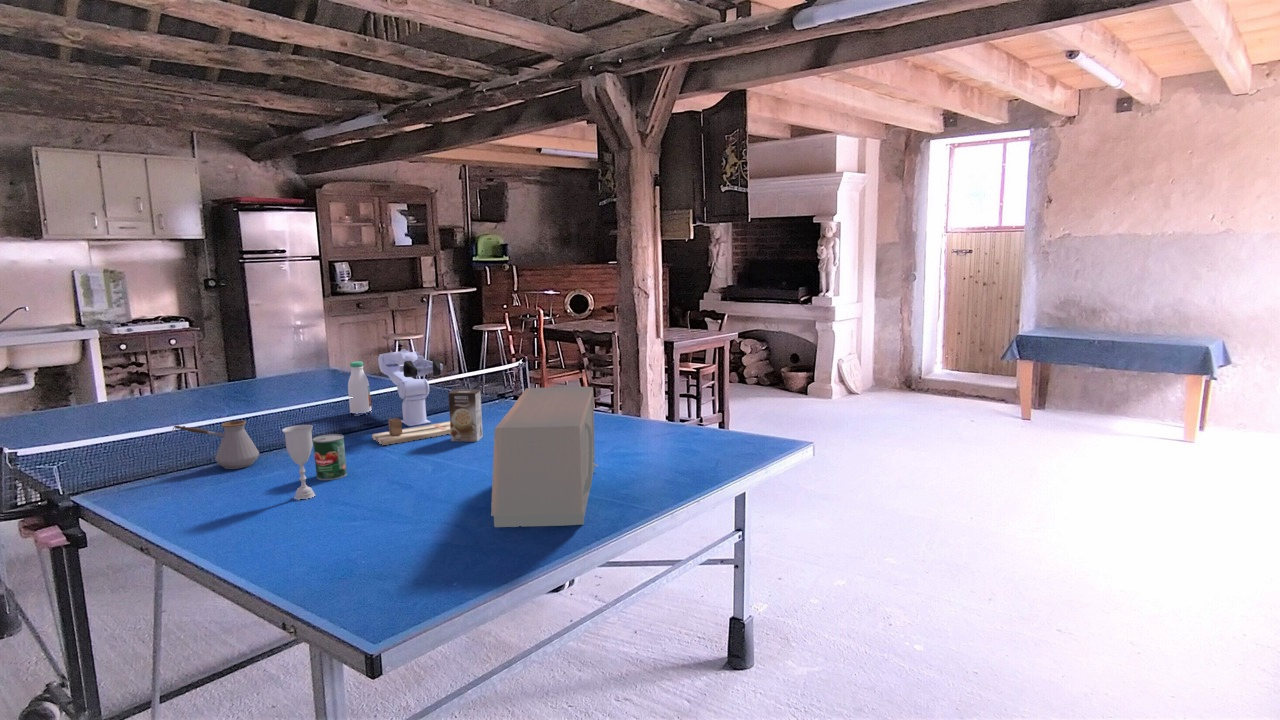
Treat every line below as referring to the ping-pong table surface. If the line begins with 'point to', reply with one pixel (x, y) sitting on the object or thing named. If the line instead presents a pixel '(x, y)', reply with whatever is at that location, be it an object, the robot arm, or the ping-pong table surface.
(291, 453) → the chalice
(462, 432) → the coffee box
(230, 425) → the coffee pot
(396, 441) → the fader panel
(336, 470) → the canned tomato
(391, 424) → the fader knob
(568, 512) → the vintage radio
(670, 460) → the ping-pong table surface
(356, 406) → the milk bottle
